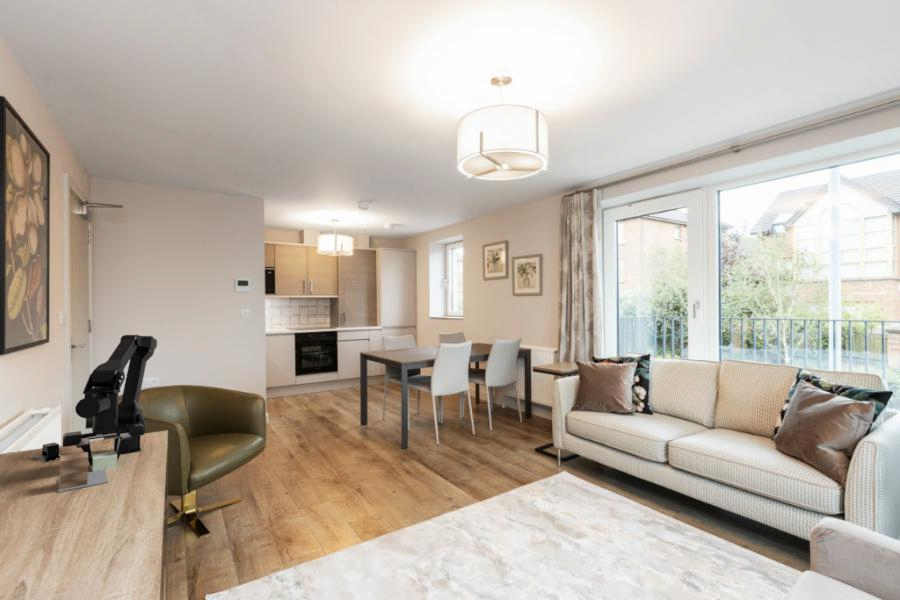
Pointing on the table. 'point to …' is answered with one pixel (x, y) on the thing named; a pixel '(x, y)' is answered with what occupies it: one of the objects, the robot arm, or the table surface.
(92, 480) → the slate mat
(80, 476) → the walnut block lower
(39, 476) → the table surface
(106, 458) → the sage block
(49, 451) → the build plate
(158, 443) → the table surface
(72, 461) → the walnut block upper
